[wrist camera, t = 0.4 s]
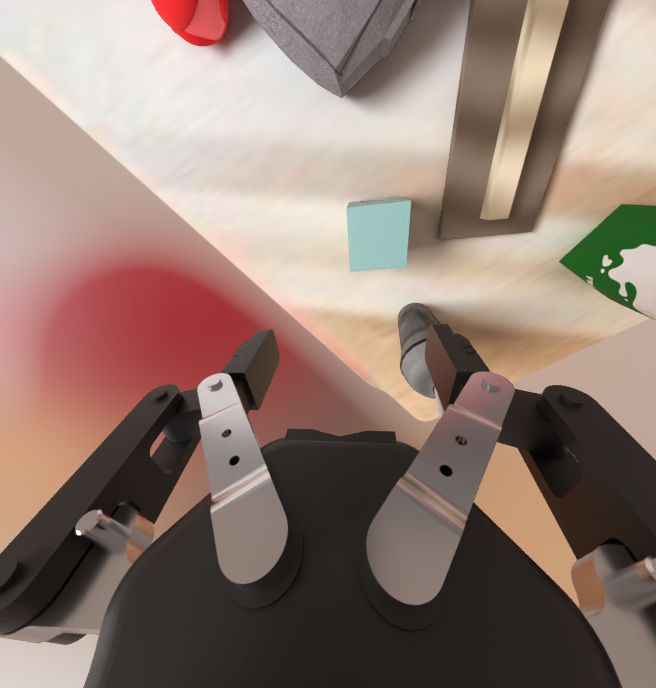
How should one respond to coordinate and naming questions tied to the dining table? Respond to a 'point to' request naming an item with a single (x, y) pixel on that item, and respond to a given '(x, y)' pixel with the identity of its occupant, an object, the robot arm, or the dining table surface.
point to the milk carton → (621, 258)
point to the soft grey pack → (334, 35)
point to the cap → (195, 19)
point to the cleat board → (489, 106)
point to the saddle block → (378, 234)
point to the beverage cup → (416, 349)
